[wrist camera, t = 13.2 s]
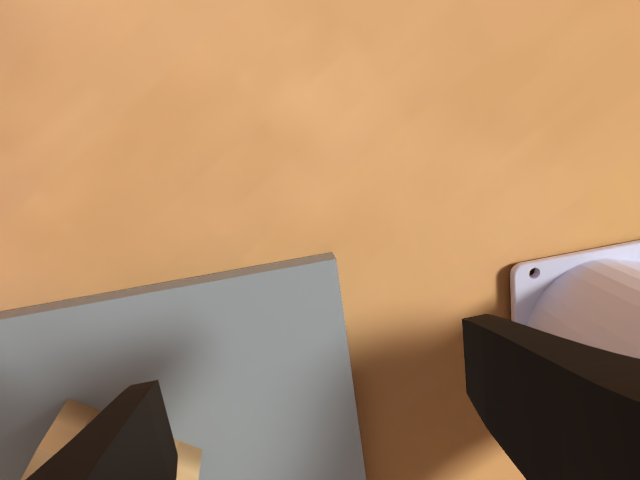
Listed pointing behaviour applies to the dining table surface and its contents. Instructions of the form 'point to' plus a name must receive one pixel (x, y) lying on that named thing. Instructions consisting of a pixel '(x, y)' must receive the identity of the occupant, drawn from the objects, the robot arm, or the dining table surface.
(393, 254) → the dining table surface
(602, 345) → the robot arm
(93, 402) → the board
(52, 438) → the link
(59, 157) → the dining table surface
